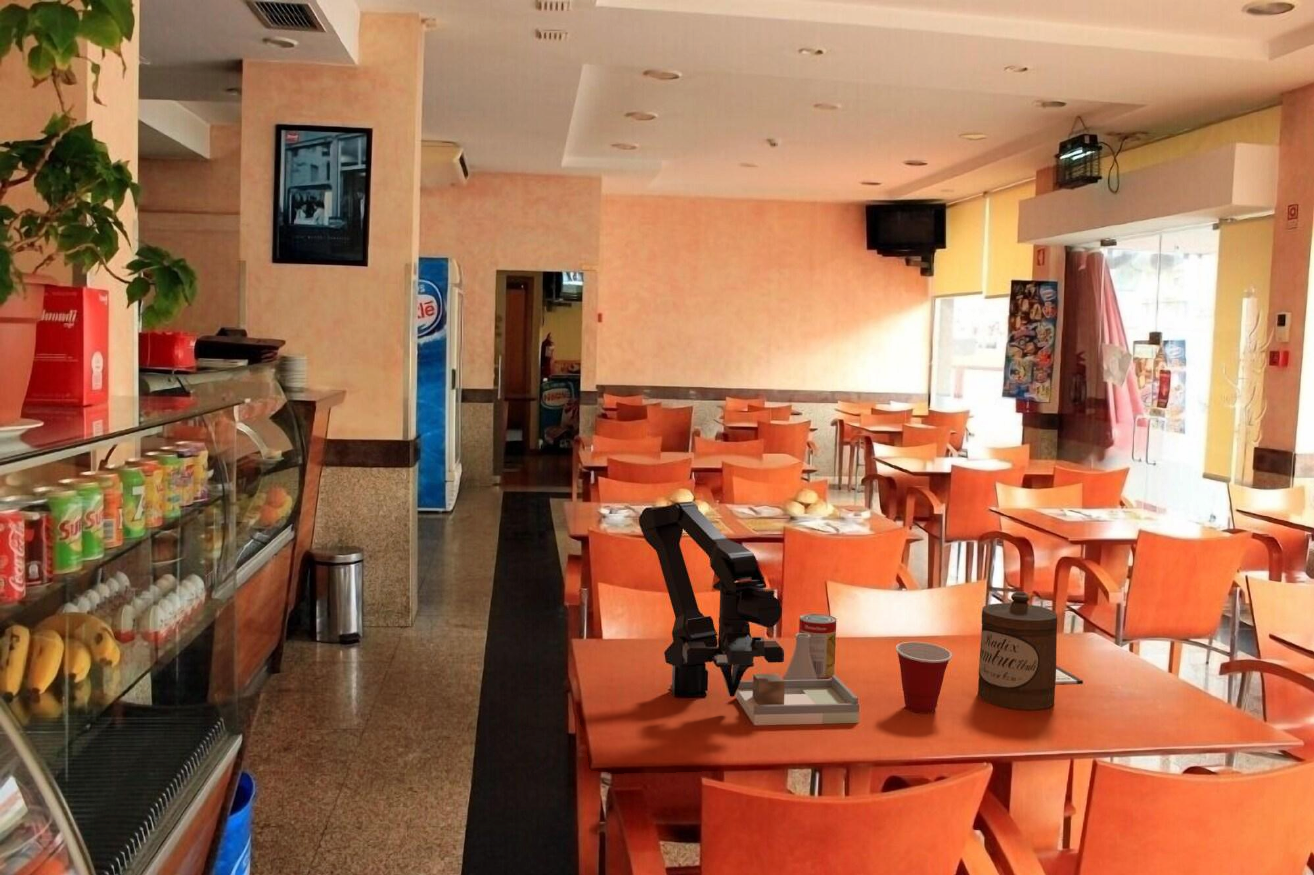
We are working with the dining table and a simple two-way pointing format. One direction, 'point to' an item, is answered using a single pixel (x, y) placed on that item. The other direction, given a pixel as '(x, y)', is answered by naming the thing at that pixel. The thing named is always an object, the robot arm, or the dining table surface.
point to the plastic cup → (922, 674)
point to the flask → (801, 660)
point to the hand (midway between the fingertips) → (731, 696)
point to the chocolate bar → (1066, 677)
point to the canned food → (820, 642)
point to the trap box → (803, 703)
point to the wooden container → (1018, 654)
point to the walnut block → (768, 689)
